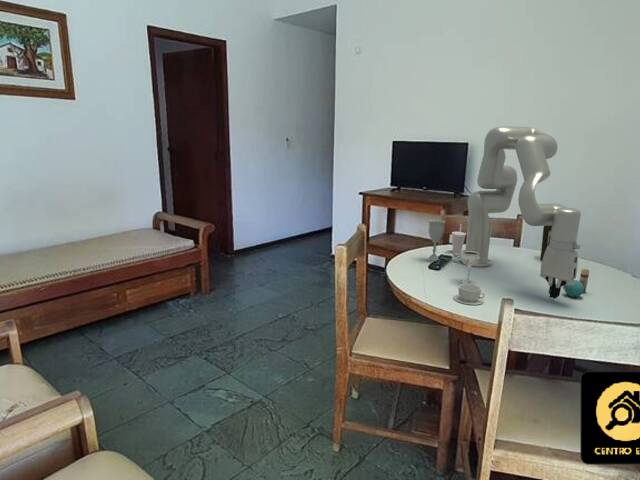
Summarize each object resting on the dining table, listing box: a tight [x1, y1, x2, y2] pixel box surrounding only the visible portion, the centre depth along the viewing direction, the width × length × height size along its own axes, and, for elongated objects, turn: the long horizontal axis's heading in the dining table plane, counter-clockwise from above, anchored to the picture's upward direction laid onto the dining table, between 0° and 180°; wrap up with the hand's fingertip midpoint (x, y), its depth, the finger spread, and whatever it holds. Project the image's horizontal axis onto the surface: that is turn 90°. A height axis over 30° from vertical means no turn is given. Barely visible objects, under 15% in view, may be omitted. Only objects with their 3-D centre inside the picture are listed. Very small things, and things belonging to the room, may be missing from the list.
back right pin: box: [579, 268, 590, 294], centre depth 153 cm, size 2×2×8 cm
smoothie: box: [451, 223, 467, 254], centre depth 200 cm, size 6×6×14 cm
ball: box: [563, 279, 584, 298], centre depth 149 cm, size 6×6×6 cm
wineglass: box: [460, 249, 480, 285], centre depth 161 cm, size 7×7×12 cm
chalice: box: [427, 219, 446, 263], centre depth 186 cm, size 7×7×18 cm
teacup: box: [453, 283, 486, 306], centre depth 145 cm, size 10×10×5 cm
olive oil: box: [540, 226, 552, 262], centre depth 188 cm, size 11×11×25 cm
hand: (553, 297), depth 145 cm, fingers closed
